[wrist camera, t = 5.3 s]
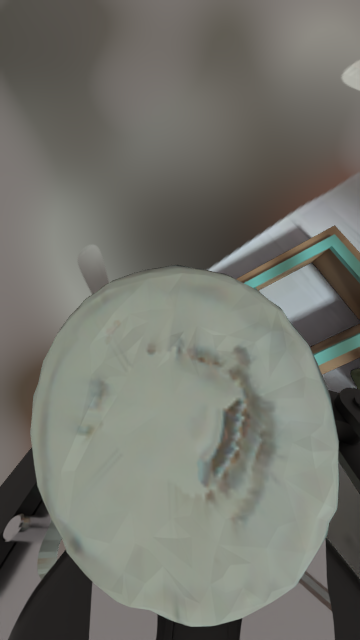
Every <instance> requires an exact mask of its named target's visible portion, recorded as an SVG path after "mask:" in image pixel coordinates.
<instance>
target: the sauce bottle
mask: <svg viewBox="0 0 360 640" xmlns="http://www.w3.org/2000/svg"><path fill="white" fill-rule="evenodd" d="M31 442H32V450H33V458H34V466H35V473H36V479H37V486H38V488H39V491H40V494H41V496H42V499H43V501H44V503H45V506H46V508H47V510H48V512H49V514H50V516H51V519H52V521H53V523H54V524H55V526H56V528H57V530H58V531H59V533H60V535H61V537H62V539H63V542H64V545H65V548H66V551H67V553H68V554H69V556H70V557H71V558H72V559H73V560H74V562H75V563H76V564H77V565H78V566H79V568H80V569H81V570H82V571H83V572H84V574H85V575H86V576H87V577H88V578H89V579H90V580H91V581H92V582H93V583H94V584H95V585H97V586H98V587H99V588H100V589H102V590H103V591H104V592H105V593H107V594H108V595H109V596H110V597H112V598H113V599H114V600H115V601H117V602H119V603H121V604H123V605H126V606H128V607H132V608H139V609H146V610H151V611H153V612H155V613H157V614H159V615H161V616H163V617H165V618H167V619H169V620H172V621H174V622H177V623H180V624H184V625H187V626H190V627H202V626H215V625H219V624H223V623H227V622H230V621H234V620H238V619H241V618H243V617H245V616H247V615H249V614H251V613H253V612H255V611H257V610H259V609H260V608H262V607H264V606H266V605H268V604H270V603H272V602H273V601H275V600H276V599H278V598H279V597H281V596H282V595H284V594H285V593H287V592H288V591H289V590H291V589H292V588H294V587H295V586H296V585H297V584H298V582H299V580H300V579H301V577H302V576H303V574H304V572H305V571H306V569H307V568H308V566H309V564H310V563H311V561H312V560H313V558H314V556H315V555H316V553H317V551H318V550H319V548H320V547H321V545H322V543H323V542H324V540H325V538H326V537H327V534H328V526H329V522H330V520H331V519H332V517H333V515H334V514H335V512H336V510H337V507H338V491H339V468H338V449H339V440H338V435H337V430H336V424H335V419H334V414H333V408H332V403H331V398H330V394H329V391H328V389H327V386H326V384H325V381H324V378H323V376H322V373H321V371H320V368H319V366H318V363H317V361H316V359H315V357H314V355H313V353H312V351H311V349H310V347H309V345H308V343H307V342H306V341H305V340H304V339H303V337H302V336H301V335H300V334H299V333H298V332H297V330H296V329H295V328H294V327H293V326H292V324H291V323H290V321H289V320H288V318H287V317H286V315H285V314H284V312H283V311H282V309H281V308H280V307H278V306H277V305H275V304H274V303H272V302H271V301H270V300H268V299H267V298H266V297H265V296H264V295H262V294H261V293H260V292H259V291H258V290H257V289H254V288H252V287H250V286H248V285H246V284H244V283H242V282H240V281H238V280H236V279H234V278H232V277H230V276H228V275H226V274H222V273H216V272H212V271H208V270H204V269H196V268H190V267H185V266H181V265H173V266H167V267H161V268H155V269H148V270H144V271H140V272H137V273H134V274H130V275H127V276H125V277H122V278H119V279H116V280H113V281H112V282H110V283H108V284H106V285H105V286H103V287H102V288H101V289H100V290H99V291H97V292H96V293H94V294H92V295H91V296H89V297H88V298H87V299H85V300H84V301H83V303H82V304H81V305H80V306H79V307H78V308H77V309H76V310H75V311H74V313H72V314H71V315H70V316H69V318H68V319H67V321H66V322H65V323H64V325H63V326H62V327H61V329H60V331H59V332H58V334H57V336H56V338H55V340H54V342H53V344H52V346H51V348H50V350H49V352H48V354H47V356H46V358H45V359H44V361H43V365H42V369H41V374H40V379H39V383H38V386H37V388H36V391H35V394H34V397H33V410H32V423H31Z"/></svg>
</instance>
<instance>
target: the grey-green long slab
mask: <svg viewBox="0 0 360 640" xmlns="http://www.w3.org/2000/svg"><path fill="white" fill-rule="evenodd" d="M351 376H352V378H353V380H354V382H355V384H356V386H357V388H358V389H359V390H360V368H359V369H355V370H352V371H351Z"/></svg>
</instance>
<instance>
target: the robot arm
mask: <svg viewBox="0 0 360 640" xmlns="http://www.w3.org/2000/svg"><path fill="white" fill-rule="evenodd" d="M328 391H329V390H328ZM329 394H330V398H331V403H332V408H333V414H334V419H335V424H336V430H337V435H338V440H339V449H338V461H339V462H340V464H341V465H342V467H343V468H344V470H345V472H346V473H347V475H348V476H349V478H350V479H351V481H352V483H353V484H354V486H355V487H356V489H357V490H358V492H359V493H360V390H359V389H354V388H346V389H343V390H342V391H341V392H340V393H337V392H333V391H329ZM61 540H62V537H61V535H60V533H59V531H58V530H57V528H56V526H55V524H54V523H53V521H52V519H51V516H50V514H49V512H48V510H47V508H46V506H45V503H44V501H43V499H42V496H41V494H40V491H39V488H38V486H37V479H36V473H35V466H34V458H33V450H32V448H31V449H30V450H29V451H28V453H27V454H26V455H25V456H24V458H23V459H22V460H21V461H20V463H19V464H18V465H17V466H16V468H15V469H14V470H13V472H12V473H11V474H10V475H9V476H8V478H7V479H6V480H5V481H4V483H3V484H2V485H1V486H0V640H360V579H359V578H358V577H357V575H356V574H355V573H354V572H353V570H352V569H351V568H350V567H349V565H348V564H347V563H346V562H345V560H344V559H343V558H342V557H341V555H340V554H339V553H338V552H337V550H336V549H335V548H334V547H333V545H332V544H331V543H330V542H329V540H328V539H327V538H325V540H324V542H323V543H322V545H321V547H320V548H319V550H318V551H317V553H316V555H315V556H314V558H313V560H312V561H311V563H310V564H309V566H308V568H307V569H306V571H305V572H304V574H303V576H302V577H301V579H300V580H299V582H298V584H297V585H296V586H295V587H294V588H292V589H291V590H289V591H288V592H287V593H285V594H284V595H282V596H281V597H279V598H278V599H276V600H275V601H273V602H272V603H270V604H268V605H266V606H264V607H262V608H260V609H259V610H257V611H255V612H253V613H251V614H249V615H247V616H245V617H243V618H241V619H238V620H234V621H230V622H227V623H223V624H219V625H215V626H202V627H190V626H187V625H184V624H180V623H177V622H174V621H172V620H169V619H167V618H165V617H163V616H161V615H159V614H157V613H155V612H153V611H151V610H146V609H139V608H132V607H128V606H126V605H123V604H121V603H119V602H117V601H115V600H114V599H113V598H112V597H110V596H109V595H108V594H107V593H105V592H104V591H103V590H102V589H100V588H99V587H98V586H97V585H95V584H94V583H93V582H92V581H91V580H90V579H89V578H88V577H87V576H86V575H85V574H84V572H83V571H82V570H81V569H80V568H79V566H78V565H77V564H76V563H75V562H74V560H73V559H72V558H71V557H70V556H69V554H68V553H67V551H66V550H65V551H64V553H63V554H62V555H61V556H60V558H59V559H58V560H57V553H58V548H59V544H60V541H61Z"/></svg>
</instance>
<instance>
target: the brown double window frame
mask: <svg viewBox="0 0 360 640" xmlns="http://www.w3.org/2000/svg"><path fill="white" fill-rule="evenodd" d="M312 262H313V264H314V265H315V266H316V267H317V268H318V270H319V271H320V272H321V273H322V275H323V276H324V277H325V278H326V280H327V281H328V282H329V283H330V284H331V286H332V287H333V288H334V289H335V291H336V292H337V293H338V294H339V296H340V297H341V298H342V299H343V300H344V302H345V303H346V304H347V305H348V307H349V308H350V309H351V310H352V312H353V313H354V314H355V315H356V316H357V318H358V319H359V320H360V252H359V251H358V250H357V249H356V248H355V247H354V246H353V245H352V244H351V243H350V242H349V240H348V239H347V238H346V237H345V236H344V235H343V234H342V233H341V232H340V231H339V230H338V228H337V227H336V226H333V227H331V228H329V229H327V230H325V231H324V232H322V233H320V234H318V235H316V236H314V237H312V238H311V239H309V240H307V241H305V242H303V243H301V244H300V245H298V246H296V247H294V248H292V249H290V250H289V251H287V252H285V253H283V254H281V255H279V256H278V257H276V258H274V259H272V260H270V261H268V262H267V263H265V264H263V265H261V266H259V267H257V268H256V269H254V270H252V271H250V272H248V273H246V274H245V275H243V276H241V277H239V278H237V279H236V280H238V281H240V282H242V283H244V284H246V285H248V286H250V287H252V288H254V289H257V290H258V291H259V290H260V289H262V288H264V287H266V286H268V285H270V284H272V283H274V282H276V281H277V280H279V279H281V278H283V277H285V276H287V275H289V274H291V273H293V272H295V271H296V270H298V269H300V268H302V267H304V266H306V265H308V264H310V263H312ZM310 349H311V351H312V353H313V355H314V357H315V359H316V361H317V363H318V366H319V368H320V371H321V373H322V374H324V373H327V372H329V371H331V370H333V369H335V368H338V367H340V366H342V365H344V364H346V363H349V362H351V361H353V360H355V359H358V358H360V324H358V325H356V326H354V327H351V328H349V329H347V330H345V331H343V332H341V333H339V334H337V335H335V336H332V337H330V338H328V339H326V340H324V341H322V342H320V343H318V344H316V345H313V346H311V347H310Z"/></svg>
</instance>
